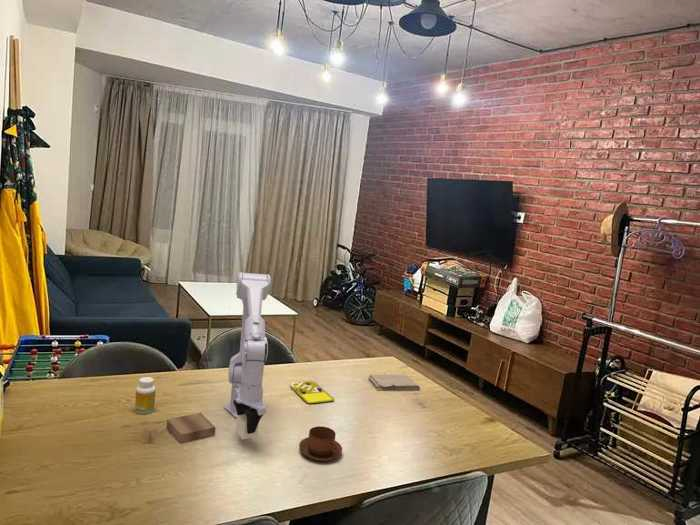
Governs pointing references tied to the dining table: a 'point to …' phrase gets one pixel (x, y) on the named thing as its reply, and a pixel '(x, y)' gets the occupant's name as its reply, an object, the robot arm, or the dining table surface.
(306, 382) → the game console
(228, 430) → the dining table surface
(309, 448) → the cup and saucer
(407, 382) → the washcloth
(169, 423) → the walnut block
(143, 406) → the supplement bottle
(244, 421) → the white block
